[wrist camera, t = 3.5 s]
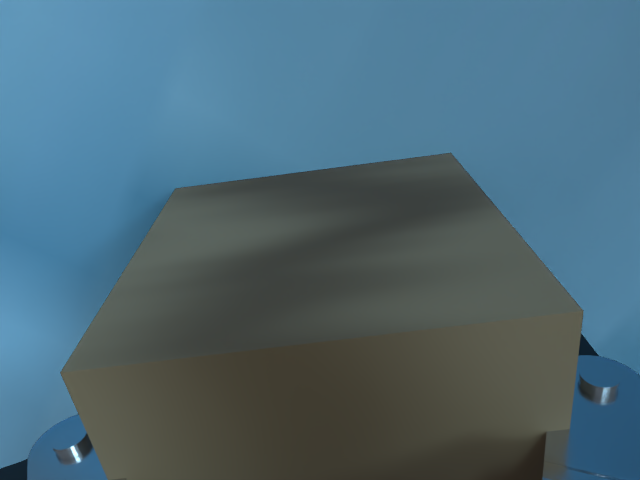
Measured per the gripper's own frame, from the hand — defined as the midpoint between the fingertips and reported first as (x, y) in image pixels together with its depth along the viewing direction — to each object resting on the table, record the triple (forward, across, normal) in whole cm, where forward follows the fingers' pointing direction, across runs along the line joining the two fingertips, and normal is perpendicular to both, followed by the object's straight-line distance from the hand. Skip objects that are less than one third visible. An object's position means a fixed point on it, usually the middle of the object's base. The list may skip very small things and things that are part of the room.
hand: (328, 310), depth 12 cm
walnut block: (+1, 0, 0) cm, 1 cm away
